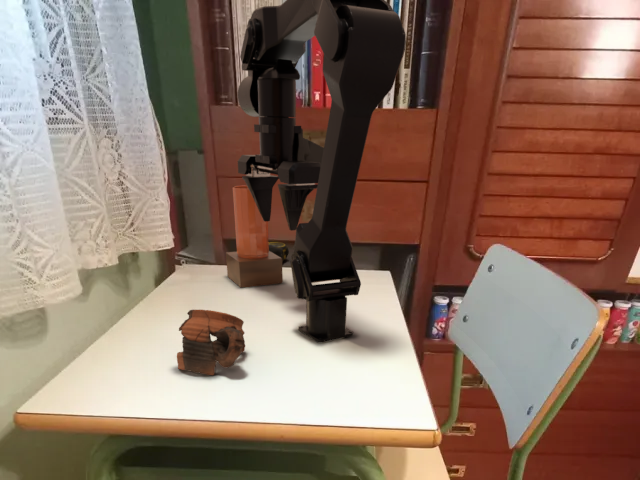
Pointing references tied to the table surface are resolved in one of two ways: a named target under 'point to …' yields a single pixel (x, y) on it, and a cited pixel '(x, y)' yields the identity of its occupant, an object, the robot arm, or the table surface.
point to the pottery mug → (198, 342)
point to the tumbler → (249, 226)
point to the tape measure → (279, 249)
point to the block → (254, 270)
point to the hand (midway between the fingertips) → (279, 225)
